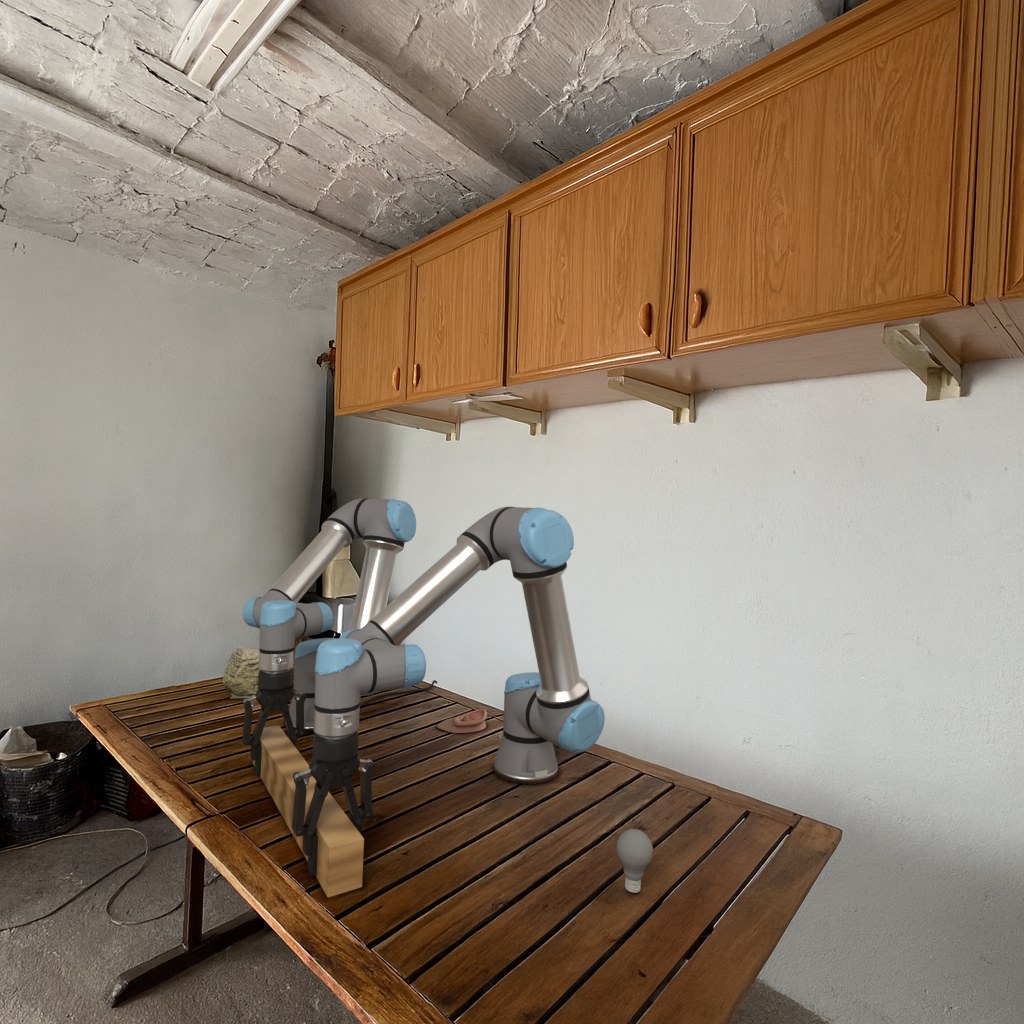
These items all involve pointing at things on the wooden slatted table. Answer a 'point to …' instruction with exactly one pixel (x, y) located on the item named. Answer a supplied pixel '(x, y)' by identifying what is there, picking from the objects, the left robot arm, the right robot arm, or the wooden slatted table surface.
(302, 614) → the left robot arm
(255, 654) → the fossil
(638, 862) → the light bulb
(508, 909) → the wooden slatted table surface
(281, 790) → the post
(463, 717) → the anatomical model
